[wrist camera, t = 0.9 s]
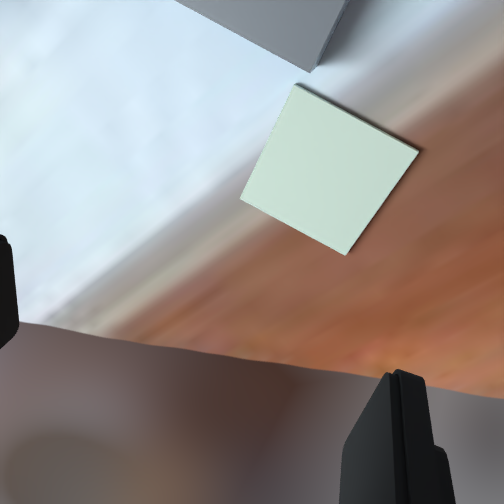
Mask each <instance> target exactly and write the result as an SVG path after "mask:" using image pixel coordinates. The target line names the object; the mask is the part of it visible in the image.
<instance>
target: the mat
mask: <svg viewBox="0 0 504 504" xmlns="http://www.w3.org/2000/svg"><path fill="white" fill-rule="evenodd" d="M418 153H419V151H418V150H417V149H415V148H413V147H411V146H410V145H408V144H406V143H404V142H402V141H400V140H398V139H397V138H395V137H393V136H391V135H389V134H387V133H385V132H384V131H382V130H380V129H378V128H376V127H374V126H372V125H371V124H369V123H367V122H365V121H363V120H361V119H360V118H358V117H356V116H354V115H352V114H350V113H348V112H347V111H345V110H343V109H341V108H339V107H337V106H335V105H334V104H332V103H330V102H328V101H326V100H324V99H322V98H321V97H319V96H317V95H315V94H313V93H311V92H309V91H308V90H306V89H304V88H302V87H300V86H298V85H297V84H294V86H293V88H292V90H291V92H290V94H289V96H288V98H287V101H286V103H285V105H284V107H283V109H282V111H281V113H280V115H279V117H278V119H277V122H276V124H275V126H274V128H273V130H272V132H271V134H270V136H269V138H268V140H267V143H266V145H265V147H264V149H263V151H262V153H261V155H260V157H259V159H258V162H257V164H256V166H255V168H254V170H253V172H252V174H251V176H250V178H249V180H248V183H247V185H246V187H245V189H244V191H243V193H242V195H241V197H240V199H241V200H243V201H245V202H247V203H249V204H250V205H252V206H254V207H256V208H258V209H260V210H262V211H263V212H265V213H267V214H269V215H271V216H273V217H275V218H276V219H278V220H280V221H282V222H284V223H286V224H288V225H289V226H291V227H293V228H295V229H297V230H299V231H301V232H302V233H304V234H306V235H308V236H310V237H312V238H314V239H315V240H317V241H319V242H321V243H323V244H325V245H327V246H328V247H330V248H332V249H334V250H336V251H338V252H340V253H341V254H343V255H346V254H347V253H348V251H349V250H350V248H351V247H352V245H353V244H354V243H355V241H356V240H357V238H358V237H359V236H360V234H361V233H362V231H363V230H364V229H365V227H366V226H367V224H368V223H369V222H370V220H371V219H372V217H373V216H374V214H375V213H376V212H377V210H378V209H379V207H380V206H381V205H382V203H383V202H384V200H385V199H386V198H387V196H388V195H389V193H390V192H391V191H392V189H393V188H394V186H395V185H396V184H397V182H398V181H399V179H400V178H401V176H402V175H403V174H404V172H405V171H406V169H407V168H408V167H409V165H410V164H411V162H412V161H413V160H414V158H415V157H416V155H417V154H418Z"/></svg>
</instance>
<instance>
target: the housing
mask: <svg viewBox="0 0 504 504" xmlns="http://www.w3.org/2000/svg"><path fill="white" fill-rule="evenodd" d="M175 1H177V2H179V3H181V4H183V5H184V6H186V7H188V8H190V9H192V10H194V11H195V12H197V13H199V14H201V15H203V16H205V17H207V18H208V19H210V20H212V21H214V22H216V23H218V24H220V25H221V26H223V27H225V28H227V29H229V30H231V31H232V32H234V33H236V34H238V35H240V36H242V37H244V38H245V39H247V40H249V41H251V42H253V43H255V44H257V45H258V46H260V47H262V48H264V49H266V50H268V51H270V52H271V53H273V54H275V55H277V56H279V57H281V58H282V59H284V60H286V61H288V62H290V63H292V64H294V65H295V66H297V67H299V68H301V69H303V70H305V71H307V72H308V73H310V72H311V71H313V70H314V69H315V68H316V67H317V65H318V63H319V61H320V59H321V57H322V55H323V53H324V51H325V49H326V47H327V45H328V43H329V41H330V39H331V37H332V35H333V32H334V30H335V28H336V26H337V24H338V22H339V20H340V18H341V16H342V14H343V12H344V10H345V8H346V6H347V4H348V2H349V0H175Z"/></svg>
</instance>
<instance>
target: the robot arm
mask: <svg viewBox="0 0 504 504" xmlns="http://www.w3.org/2000/svg"><path fill="white" fill-rule="evenodd" d="M18 327H19V316H18V305H17V295H16V285H15V275H14V265H13V255H12V248H11V245H10V244H9V243H8V242H7V239H6V237H5V236H3V235H1V234H0V349H1V348H2V347H3V346H4V345H5V344H6V343H7V342H8V341H10V340H11V339H12V338H13V336H15V334H16V332H17V330H18ZM339 504H456V503H455V496H454V490H453V485H452V479H451V474H450V467H449V461H448V458H447V454H446V452H445V451H444V449H443V448H441V447H438V446H436V445H434V440H433V434H432V427H431V420H430V413H429V406H428V400H427V393H426V386H425V381H424V379H423V377H420V376H417V375H414V374H411V373H408V372H406V371H403V370H400V369H396V370H395V371H394V372H393V374H391V373H388V372H386V373H385V374H384V375H383V377H382V379H381V381H380V382H379V384H378V386H377V388H376V389H375V391H374V393H373V395H372V396H371V398H370V400H369V402H368V403H367V405H366V407H365V408H364V410H363V412H362V414H361V415H360V417H359V419H358V421H357V422H356V424H355V426H354V427H353V429H352V431H351V433H350V434H349V436H348V438H347V440H346V442H345V444H344V448H343V452H342V463H341V479H340V496H339Z"/></svg>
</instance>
